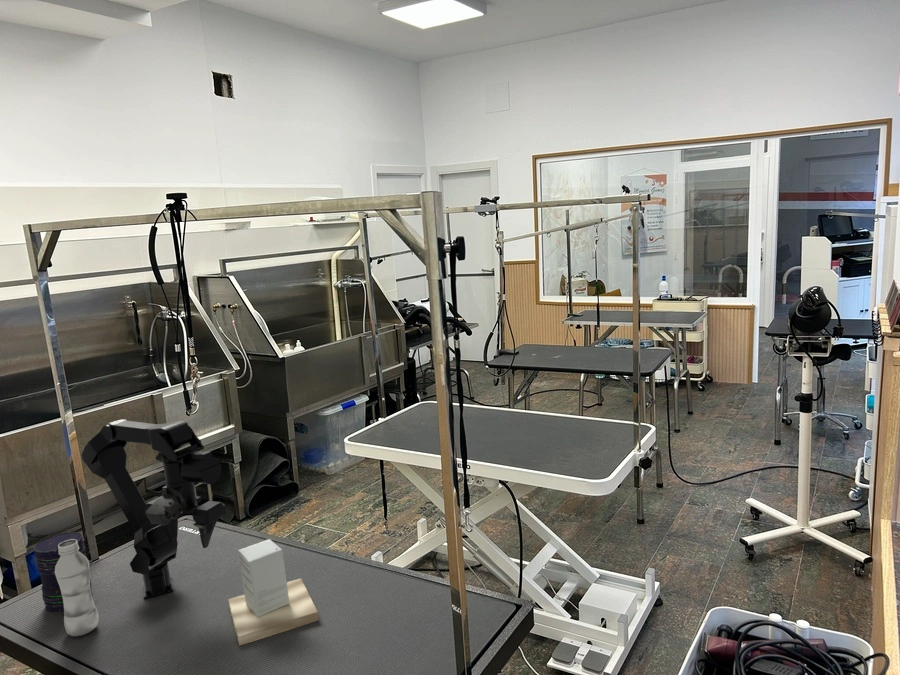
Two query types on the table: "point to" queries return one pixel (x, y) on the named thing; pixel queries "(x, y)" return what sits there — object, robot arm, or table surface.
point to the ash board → (273, 615)
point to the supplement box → (263, 577)
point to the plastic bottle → (75, 589)
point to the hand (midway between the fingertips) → (189, 545)
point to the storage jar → (53, 569)
